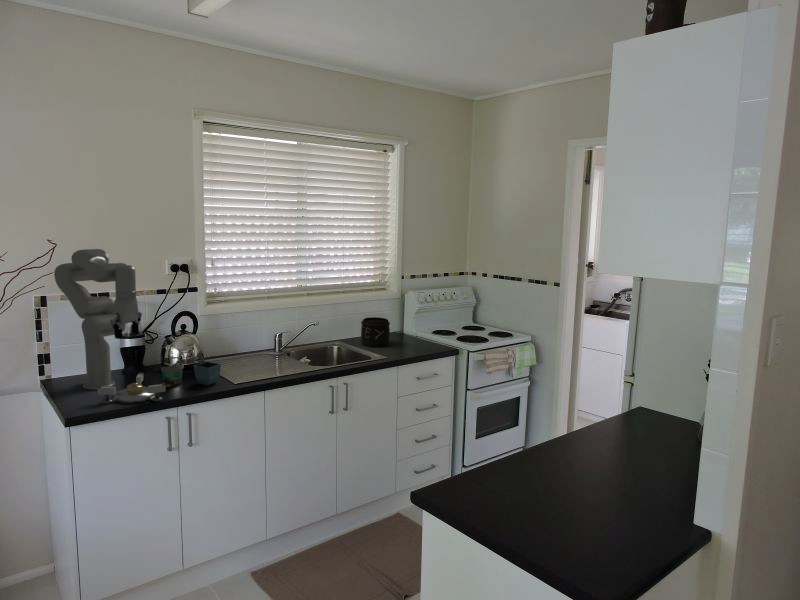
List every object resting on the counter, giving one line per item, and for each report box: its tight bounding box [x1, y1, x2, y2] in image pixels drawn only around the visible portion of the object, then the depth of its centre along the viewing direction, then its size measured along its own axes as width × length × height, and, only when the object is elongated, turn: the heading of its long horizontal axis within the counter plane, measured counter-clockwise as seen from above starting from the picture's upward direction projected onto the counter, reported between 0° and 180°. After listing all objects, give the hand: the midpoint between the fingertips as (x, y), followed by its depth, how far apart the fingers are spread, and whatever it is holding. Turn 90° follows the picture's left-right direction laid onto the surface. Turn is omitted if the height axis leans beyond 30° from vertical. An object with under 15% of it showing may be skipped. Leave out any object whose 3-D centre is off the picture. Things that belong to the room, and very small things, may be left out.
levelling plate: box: [100, 382, 164, 405], centre depth 241 cm, size 21×24×6 cm
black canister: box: [360, 316, 391, 348], centre depth 354 cm, size 18×18×16 cm
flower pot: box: [193, 361, 222, 386], centre depth 263 cm, size 9×9×9 cm
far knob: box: [147, 382, 167, 398], centre depth 238 cm, size 6×2×6 cm, turn 123°
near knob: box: [97, 386, 117, 400], centre depth 233 cm, size 6×2×6 cm, turn 94°
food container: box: [161, 360, 185, 389], centre depth 259 cm, size 12×6×10 cm, turn 168°
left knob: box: [135, 372, 144, 385], centre depth 252 cm, size 6×2×6 cm, turn 14°
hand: (126, 336), depth 238 cm, fingers open, 9 cm apart
